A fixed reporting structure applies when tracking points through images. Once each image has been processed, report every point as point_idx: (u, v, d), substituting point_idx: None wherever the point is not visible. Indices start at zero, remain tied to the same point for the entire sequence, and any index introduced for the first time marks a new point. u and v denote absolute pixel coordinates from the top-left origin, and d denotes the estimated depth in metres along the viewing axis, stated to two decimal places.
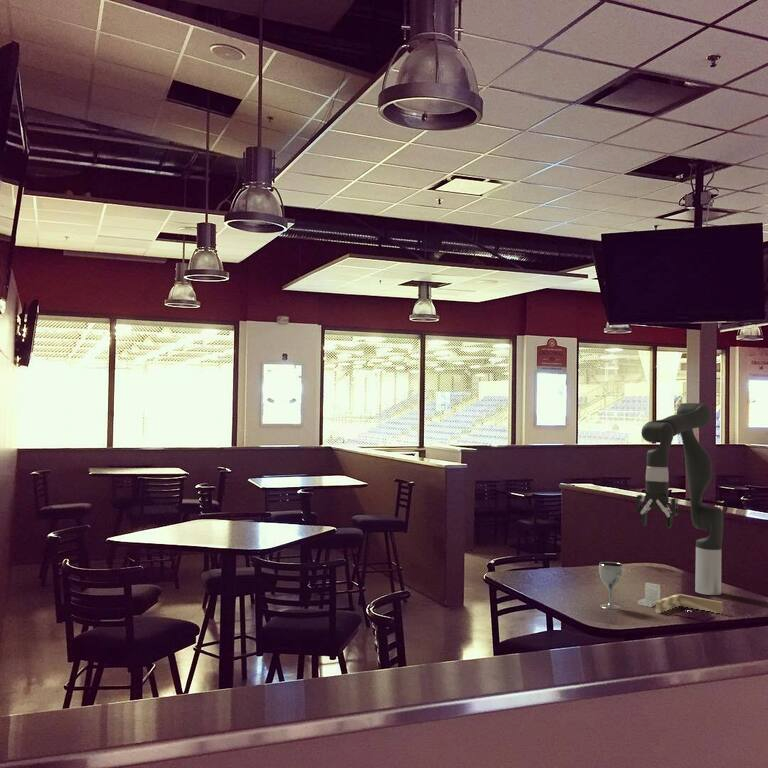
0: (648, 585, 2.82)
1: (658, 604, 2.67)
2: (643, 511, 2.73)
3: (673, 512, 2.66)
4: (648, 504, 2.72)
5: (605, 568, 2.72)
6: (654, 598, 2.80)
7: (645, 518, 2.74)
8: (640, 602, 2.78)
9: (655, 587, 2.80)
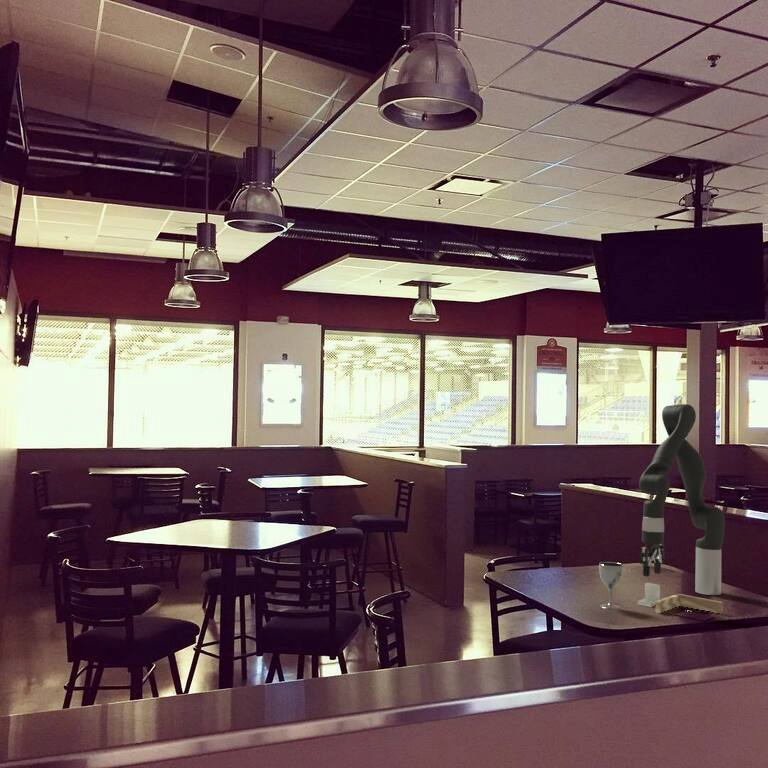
0: (647, 585, 2.82)
1: (658, 604, 2.67)
2: (649, 562, 2.78)
3: (663, 557, 2.86)
4: (654, 555, 2.80)
5: (605, 568, 2.72)
6: (654, 598, 2.80)
7: None
8: (640, 602, 2.78)
9: (655, 587, 2.80)
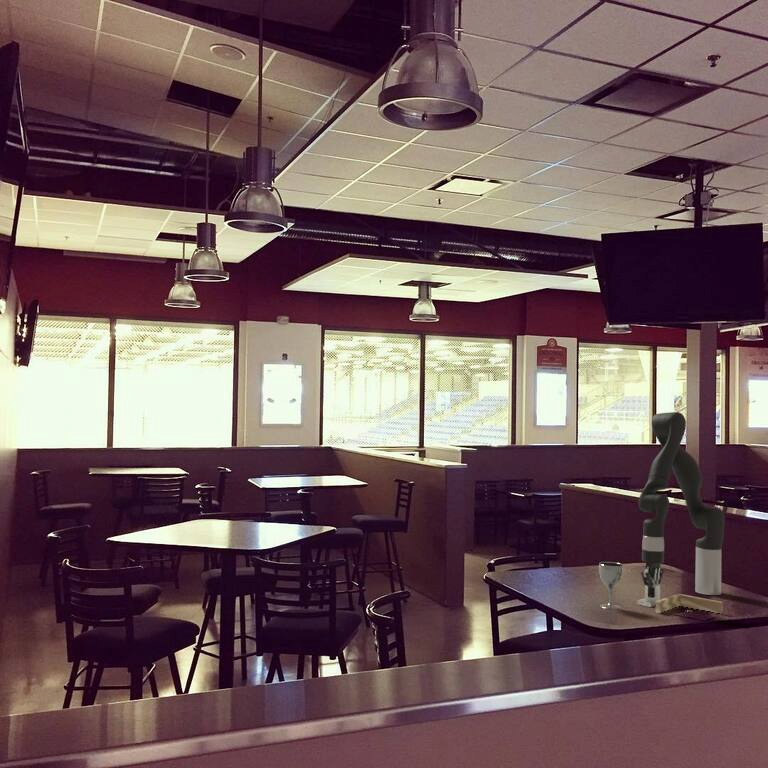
0: None
1: (658, 604, 2.67)
2: (654, 584, 2.80)
3: (659, 580, 2.83)
4: (655, 574, 2.80)
5: (605, 568, 2.72)
6: (654, 598, 2.80)
7: None
8: (640, 602, 2.78)
9: (655, 587, 2.80)
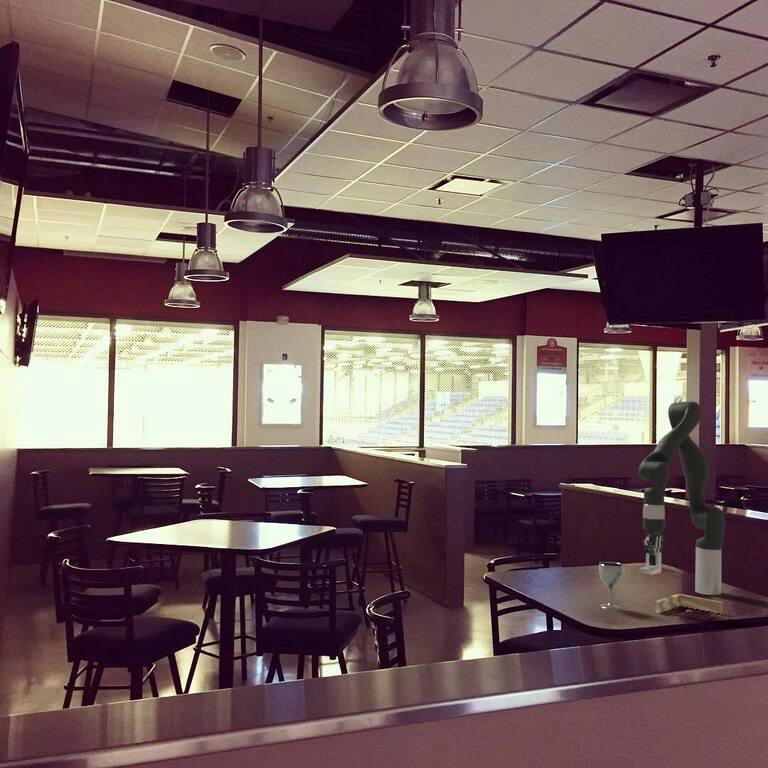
0: None
1: (658, 604, 2.67)
2: (655, 552, 2.81)
3: (660, 548, 2.84)
4: (656, 542, 2.80)
5: (605, 568, 2.72)
6: (655, 566, 2.81)
7: None
8: (641, 570, 2.79)
9: (656, 555, 2.81)
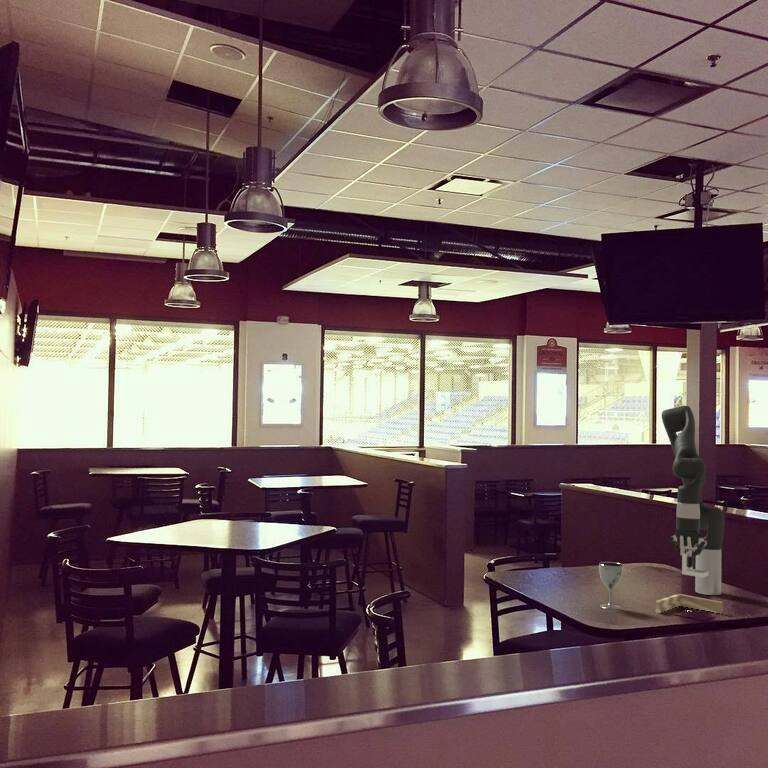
0: None
1: (658, 604, 2.67)
2: None
3: None
4: None
5: (605, 568, 2.72)
6: None
7: None
8: (703, 574, 2.62)
9: None
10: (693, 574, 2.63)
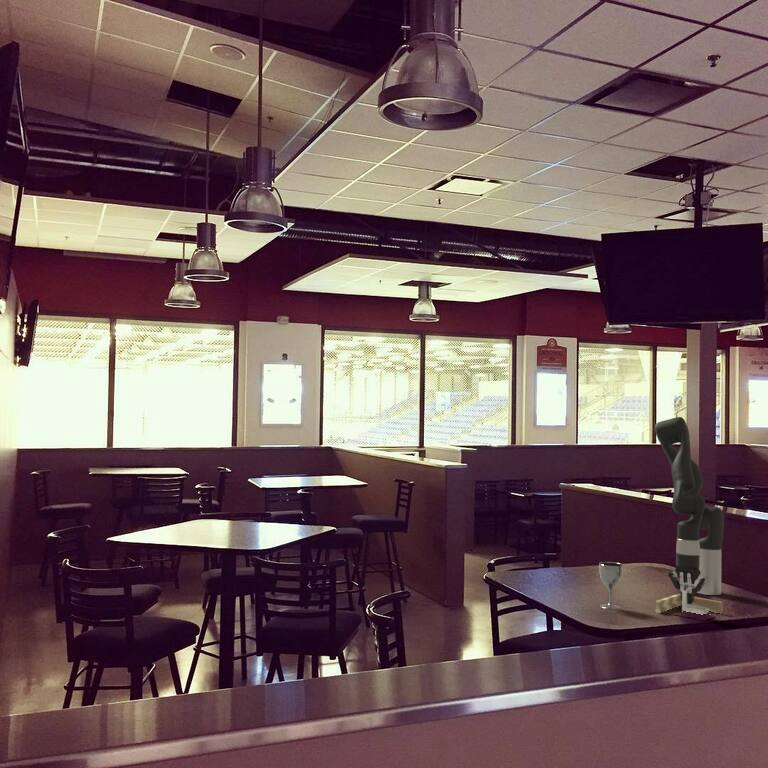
0: (687, 591, 2.66)
1: (658, 604, 2.67)
2: None
3: None
4: None
5: (605, 568, 2.72)
6: None
7: None
8: (703, 611, 2.61)
9: None
10: (693, 611, 2.63)
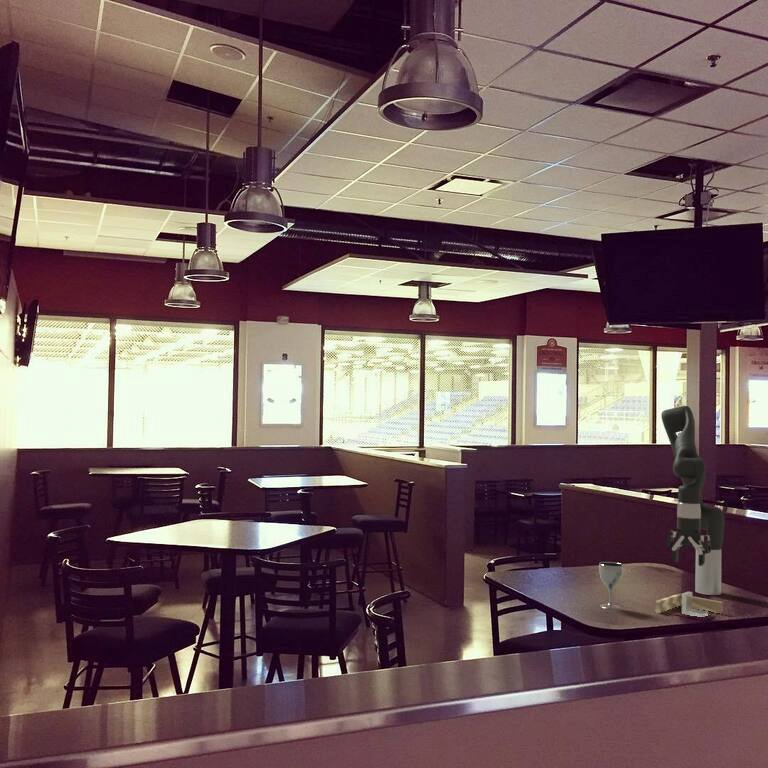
0: (687, 595, 2.66)
1: (658, 604, 2.67)
2: None
3: None
4: None
5: (605, 568, 2.72)
6: (690, 607, 2.67)
7: None
8: (703, 614, 2.61)
9: (691, 595, 2.68)
10: (693, 615, 2.63)
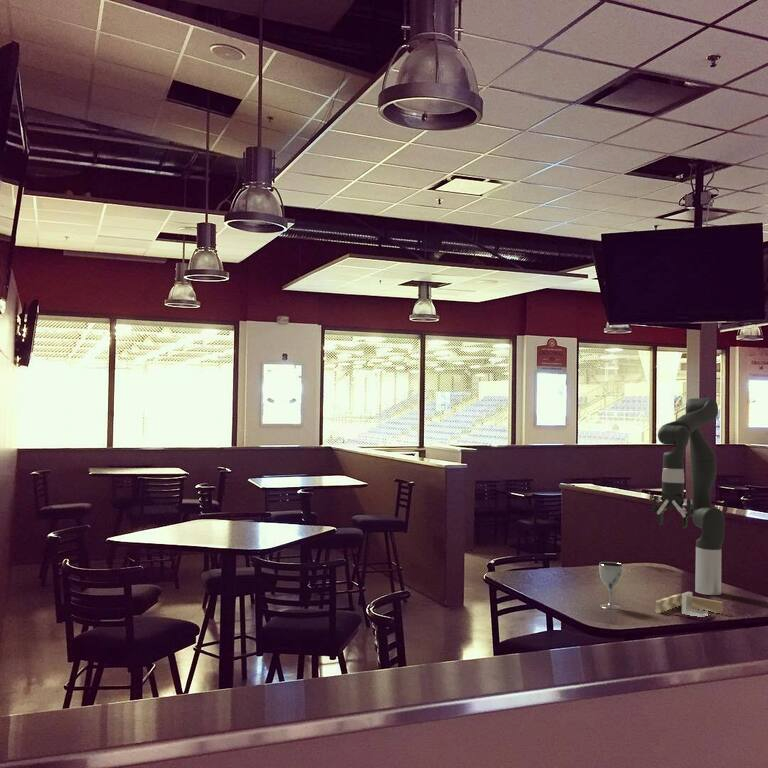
0: (687, 595, 2.66)
1: (658, 604, 2.67)
2: None
3: None
4: None
5: (605, 568, 2.72)
6: (690, 607, 2.67)
7: None
8: (703, 614, 2.61)
9: (691, 595, 2.68)
10: (693, 615, 2.63)
